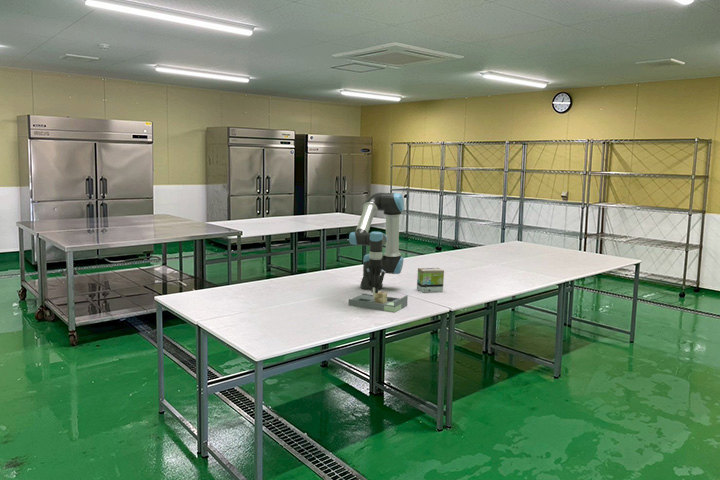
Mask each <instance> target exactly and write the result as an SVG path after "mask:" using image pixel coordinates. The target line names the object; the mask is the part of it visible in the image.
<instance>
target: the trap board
mask: <svg viewBox="0 0 720 480" xmlns="http://www.w3.org/2000/svg"><path fill="white" fill-rule="evenodd" d="M372 296H373V294H371V293H361V294H360V295H357V296H355V297H353V298H350V299H349V298H348V306H350V307H351V306H352V307H356V308H358V307H359V308H364V309H371V310H379V311H383V312H384V311H385V312H390V313H397V312H398V311H400V310H402V309H404V308H405V307H407V306H408V297H409V296H408V295H405V296H402V297H400V298H399V297H391V296H387V302H386V303H384V304H381V303H375V299H372Z"/></svg>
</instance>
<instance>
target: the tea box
mask: <svg viewBox="0 0 720 480" xmlns="http://www.w3.org/2000/svg"><path fill="white" fill-rule="evenodd" d="M416 277H417V279H416V290H417V291H419V292H420V293H436V292H437V293H440V292H441V293H442V292H444V280H445V279H444V277H445V270H444V269H442V268H439V267H418V268H417V276H416Z"/></svg>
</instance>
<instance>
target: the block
mask: <svg viewBox="0 0 720 480" xmlns="http://www.w3.org/2000/svg"><path fill="white" fill-rule="evenodd" d="M387 297H388V292H386V291H378V293H375V303H381V304H384V303H386V302H387Z"/></svg>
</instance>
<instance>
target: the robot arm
mask: <svg viewBox="0 0 720 480" xmlns="http://www.w3.org/2000/svg"><path fill="white" fill-rule="evenodd" d="M364 201H365V202H364V203H363V205H362V213H361V215H360V218H359V221H358V224H357V226H356V229H355V231H352V232H350V233H349V235H348V238H349V239H348V240H349V241H348V242H349V244H350V245H352V246H353V245H355V246H369V253H367V254H366V253H365V255H364V256H363V261H362V263H363V267H362V268H363V270H362V272H363V273H362V279H361V282H360V285H359V287H360V288H361V289H363V290H367V291H371V293H372V295H373V296H372V299H375V293H378V292H379V290H381V289H383V288H384V286H383V285H384V284H383V281H384V279H385V274H389V275H400V274H401V273H402V270H403V266H404V256H402V254H401V252H400V251H399V250H400V247H399V245H400V244H399V243H400V239H399V238H400V216H401V215H402V212H404V210H405V202H404V201H405V200H404V197H403V195H402V194H401V193H396V192H376V193H373V194H371V195H370V196H368V198H367V199H366V200H364ZM378 211H379V212H380V211H382V212H383V215H384V216H385V233H383V232H381V231H371V232H369V231H370V228H371V224H372V222H373V219H374V217H375V214H377V212H378ZM383 246H385V252H383Z"/></svg>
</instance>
